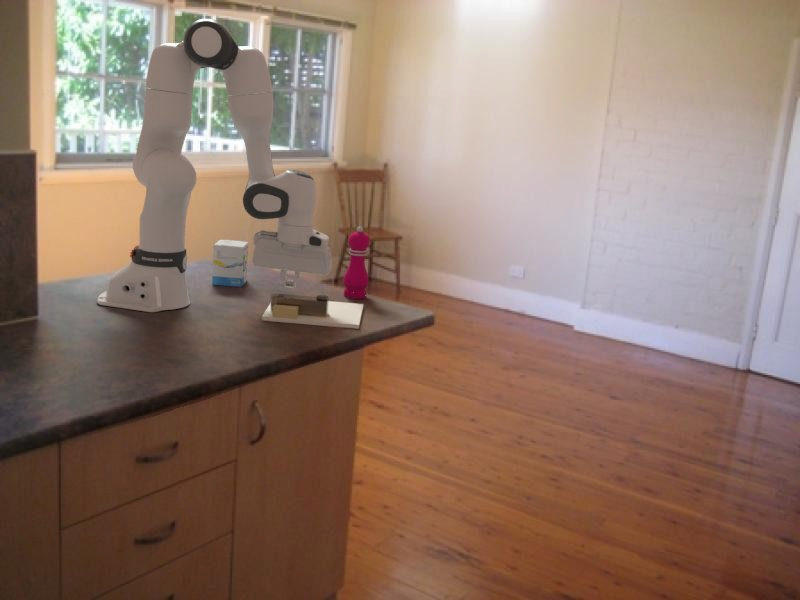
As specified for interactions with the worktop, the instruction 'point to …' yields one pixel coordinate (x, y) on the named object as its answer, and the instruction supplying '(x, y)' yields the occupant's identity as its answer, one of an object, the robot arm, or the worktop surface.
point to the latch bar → (303, 303)
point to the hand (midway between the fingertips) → (289, 287)
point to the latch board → (336, 316)
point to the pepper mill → (357, 266)
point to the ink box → (230, 263)
